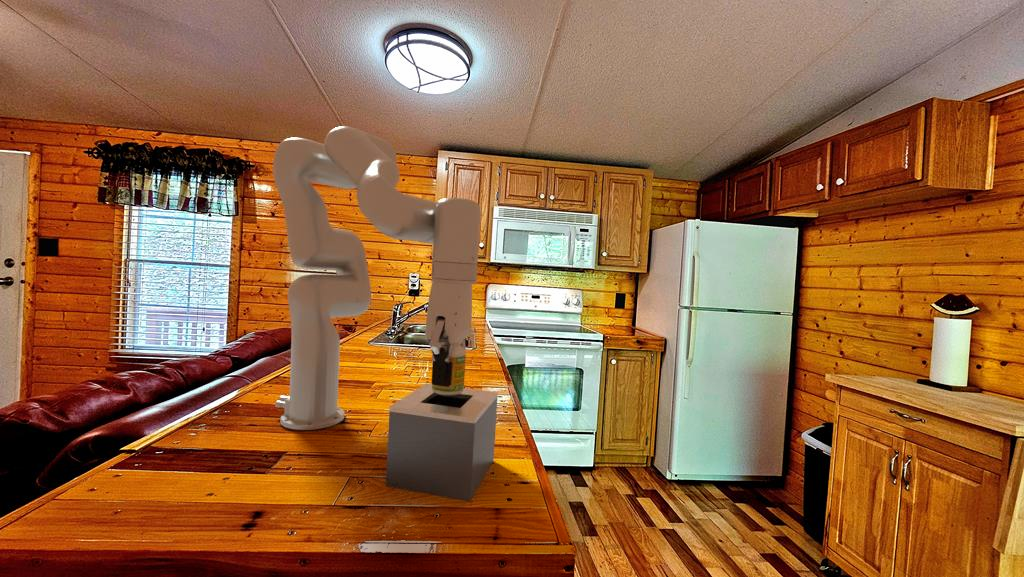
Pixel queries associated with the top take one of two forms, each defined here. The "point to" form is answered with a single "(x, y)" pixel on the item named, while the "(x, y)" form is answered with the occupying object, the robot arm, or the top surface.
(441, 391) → the supplement bottle
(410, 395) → the box
